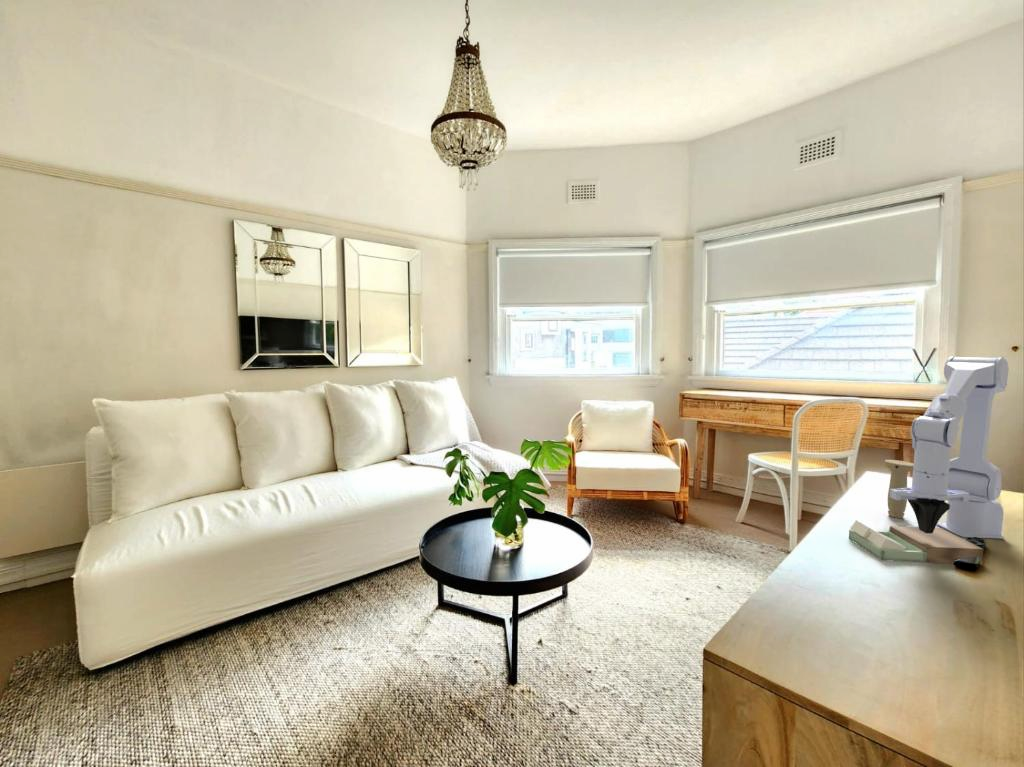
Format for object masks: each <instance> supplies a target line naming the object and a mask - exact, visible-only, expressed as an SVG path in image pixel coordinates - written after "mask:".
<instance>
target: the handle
mask: <svg viewBox="0 0 1024 767" xmlns="http://www.w3.org/2000/svg"><path fill="white" fill-rule="evenodd" d="M883 465H884V467H887V468H888V469H889V470H890V477H889V478H890V479H889V485H888V492H887V507H888V508H887V509H888V510H887V513H888V516H890V517H893V518H894V517H895V519H896V518H897V519H902V518H904V517H905V511H906V508H907V502H908V499H901V500H895V499H893V498H890V489H900V488H908V473H909V472H913V465H914V462H909V461H904V460H897V459H885V460H884V464H883Z"/></svg>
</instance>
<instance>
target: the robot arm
mask: <svg viewBox="0 0 1024 767" xmlns="http://www.w3.org/2000/svg"><path fill="white" fill-rule="evenodd" d="M943 375H944V379H945V380H946V382H947V384H946V386H945V388H944V391H943V392H942V393H941V394H938V395H936V396H934V397H933V399H932V401H931V402H930V404H929V406H928V407H927V409H926V410H925V412H924V413H923V415H920V416H919V417H915V418H914V419H913V421H912V424H911V428H910V437H911V441H912V443H911V447H912V449H914V456H913V464H914V465H913V471H912V480H911V482H912V483H911V486H909V487H907V488H900V489H890V498H893V499H895V500H901V499H907V502H908V503H909V504H910V506H911V508H912V510H913V512H914V515H915V518H916V521H917V527H919V530H921V531H923V532H925V533H933V531H934V529H935V528H937V526H938V527H940V528H942V529H944V530H946V531H948V532H950V533H952V534H953V533H954V535H956V536H958V537H960V538H962V537H963V538H974V537H977V538H980V539H1005V536H1004V535H1002V532H1003V521H1004V509H1003V507H1002V504H1001V503H1000V502H999V501H998V498H999V497H1000V495H1001V493H1002V485H1003V484H1002V482H1003V481H1002V472H1001V469H1000V468H999V467H998V466H996V465H994V464H993V463H992V462H990V461H989V460H988V459H987V452H988V444H989V435H990V434H989V433H990V426H991V415H992V408H993V401H994V398H995V395H996V394H998V393H1002V392H1005V391H1006V388H1007V386H1008V378H1009V377H1008V376H1009V362H1008V360H1007V359H1006V358H1005V357H1001V356H999V357H979V356H978V357H977V356H976V357H975V356H974V357H969V356H967V357H966V356H954V355H953V356H950V357H949V358H947V359H946V360H945V362H944V367H943ZM961 420H962V424H961V425H962V426H961V433H960V443H959V449H958V450H959V452H958V456H957V457H954V458H951V452H952V446H954V445H955V442H956V440H957V437H958V432H959V430H960V424H959V423H960V421H961ZM946 501H947V502H946ZM945 513H946V520H945V521H946V522H939V521H940V520H941V518H942V517H943V516H944V515H945Z"/></svg>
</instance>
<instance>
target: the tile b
mask: <svg viewBox="0 0 1024 767" xmlns="http://www.w3.org/2000/svg"><path fill="white" fill-rule="evenodd" d="M876 531H877V530H874V529H872V532H871V533H870V535H869V537H868V538H867V540H869V541H870V542H872V543H873V544H875V545H876V546H878V547H879V548H881V549H883V550H905V549H906V547H904V546H903V545H901V544H900V543H898V542H896V541H895V540H893V539H891V538H889V537H887V536H885V535H883V534H880V533H878V532H876Z"/></svg>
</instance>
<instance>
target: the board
mask: <svg viewBox="0 0 1024 767" xmlns="http://www.w3.org/2000/svg"><path fill="white" fill-rule="evenodd" d="M889 531H890V532H892V533H894V534H895V535H897V536H899V537H901V538H902V539H904V540H906V541H908V542H909V543H911V544H913V545H915V546H916V547H918V548H920V549H921V550H923V551H925V552H927V555H926V562H925V563H930V564H931V563H933V564H934V563H935V564H936V563H937V564H954V563H953V562H954V561H955V560H958V559H963V558H968V557H979V561H980V565H981V566H982V565H983V558H984V548H983V547H980V546H978V545H976V544H974V543H972V542H971V541H968V540H966V539H964V538H962V537H961V536H959V535H957V534H955V533H954V534H953V532H951V531H949V530H947V529H945V528H943V527H935V529H934V531H933V533H925V532H923V531H921V530H919V526H899V525H898V526H897V525H895V526H894V525H890V526H889Z"/></svg>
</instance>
